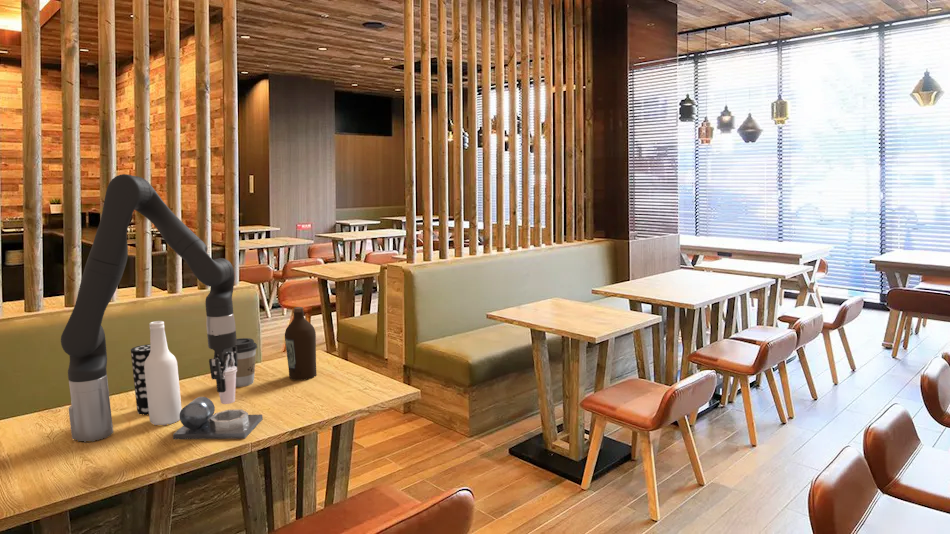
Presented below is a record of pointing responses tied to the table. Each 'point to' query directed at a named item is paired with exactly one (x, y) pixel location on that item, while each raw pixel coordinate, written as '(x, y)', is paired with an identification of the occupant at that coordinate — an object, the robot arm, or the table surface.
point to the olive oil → (301, 347)
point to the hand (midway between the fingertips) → (226, 387)
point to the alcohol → (162, 379)
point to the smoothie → (229, 385)
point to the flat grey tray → (214, 422)
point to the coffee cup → (245, 361)
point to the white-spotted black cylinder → (140, 377)
